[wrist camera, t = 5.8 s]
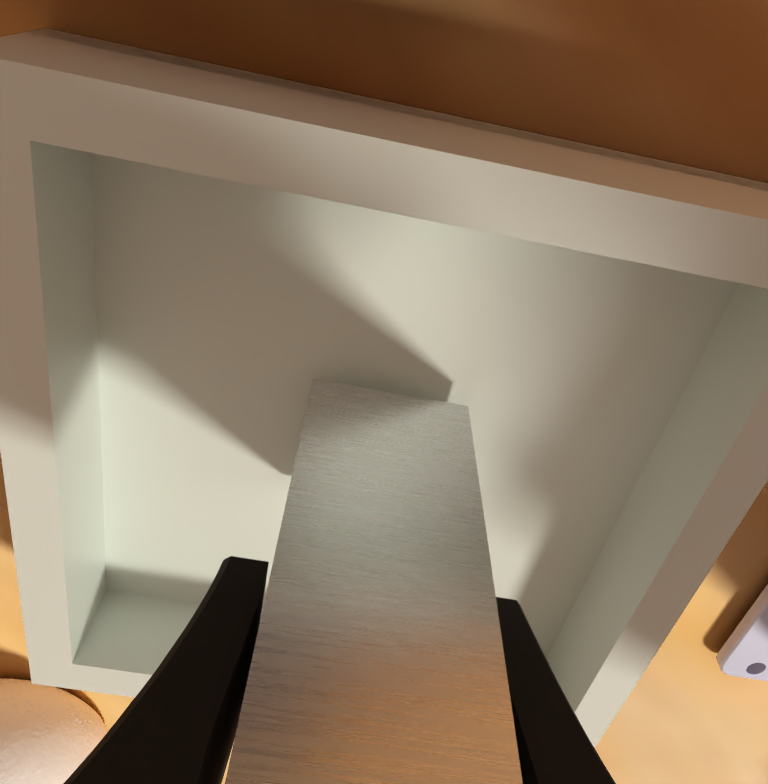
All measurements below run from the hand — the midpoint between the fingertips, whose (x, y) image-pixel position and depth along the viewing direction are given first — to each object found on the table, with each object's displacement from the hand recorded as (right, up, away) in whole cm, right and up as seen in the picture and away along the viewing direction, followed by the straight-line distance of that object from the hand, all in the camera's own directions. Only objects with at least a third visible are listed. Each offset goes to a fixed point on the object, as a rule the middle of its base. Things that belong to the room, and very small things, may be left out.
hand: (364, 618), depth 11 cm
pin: (0, +2, +3) cm, 4 cm away
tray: (0, +3, +5) cm, 5 cm away
